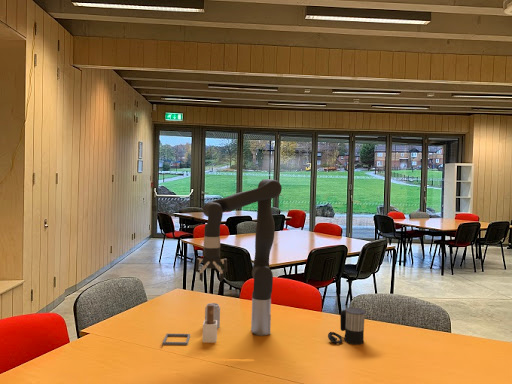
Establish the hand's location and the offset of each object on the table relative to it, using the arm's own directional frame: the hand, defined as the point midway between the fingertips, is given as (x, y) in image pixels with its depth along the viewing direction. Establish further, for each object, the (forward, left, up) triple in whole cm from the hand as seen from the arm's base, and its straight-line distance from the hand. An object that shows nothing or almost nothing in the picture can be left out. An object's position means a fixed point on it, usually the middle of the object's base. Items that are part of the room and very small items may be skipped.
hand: (211, 281), depth 202 cm
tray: (+15, +1, -28) cm, 32 cm away
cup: (0, 0, -28) cm, 28 cm away
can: (0, -18, -28) cm, 33 cm away
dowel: (0, 0, -27) cm, 27 cm away
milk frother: (-64, -3, -28) cm, 70 cm away
